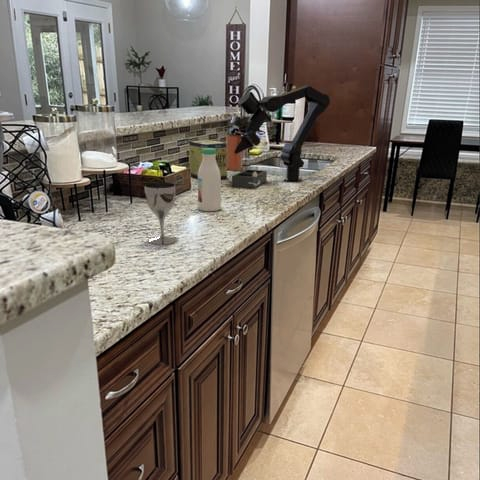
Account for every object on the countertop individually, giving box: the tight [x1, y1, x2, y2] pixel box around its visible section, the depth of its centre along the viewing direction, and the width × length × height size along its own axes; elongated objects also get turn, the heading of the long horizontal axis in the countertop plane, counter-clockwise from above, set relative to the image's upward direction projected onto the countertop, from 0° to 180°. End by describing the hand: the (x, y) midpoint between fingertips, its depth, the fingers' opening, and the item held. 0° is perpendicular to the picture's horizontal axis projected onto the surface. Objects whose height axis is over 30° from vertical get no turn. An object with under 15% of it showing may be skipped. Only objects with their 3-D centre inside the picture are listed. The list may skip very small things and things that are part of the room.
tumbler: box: [225, 134, 243, 171], centre depth 206 cm, size 6×6×13 cm
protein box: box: [188, 139, 228, 180], centre depth 225 cm, size 10×16×16 cm
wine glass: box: [144, 182, 177, 245], centre depth 134 cm, size 8×8×15 cm
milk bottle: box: [197, 148, 222, 212], centre depth 168 cm, size 8×8×20 cm
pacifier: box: [248, 172, 260, 188], centre depth 208 cm, size 7×6×6 cm
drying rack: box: [231, 169, 268, 190], centre depth 214 cm, size 9×18×5 cm, turn 160°
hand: (231, 152), depth 205 cm, fingers closed on tumbler, 6 cm apart
